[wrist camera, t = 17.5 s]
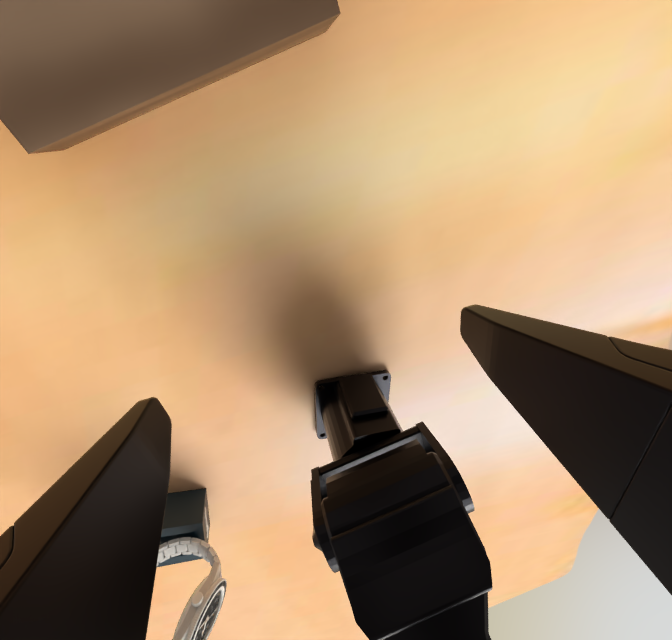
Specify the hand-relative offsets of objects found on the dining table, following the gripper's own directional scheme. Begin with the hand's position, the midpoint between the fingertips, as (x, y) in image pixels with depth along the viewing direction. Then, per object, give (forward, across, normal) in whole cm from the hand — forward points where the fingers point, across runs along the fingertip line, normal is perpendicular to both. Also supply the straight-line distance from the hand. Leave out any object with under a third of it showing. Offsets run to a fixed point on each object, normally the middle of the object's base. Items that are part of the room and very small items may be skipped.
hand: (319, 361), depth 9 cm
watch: (+13, +15, +23) cm, 30 cm away
